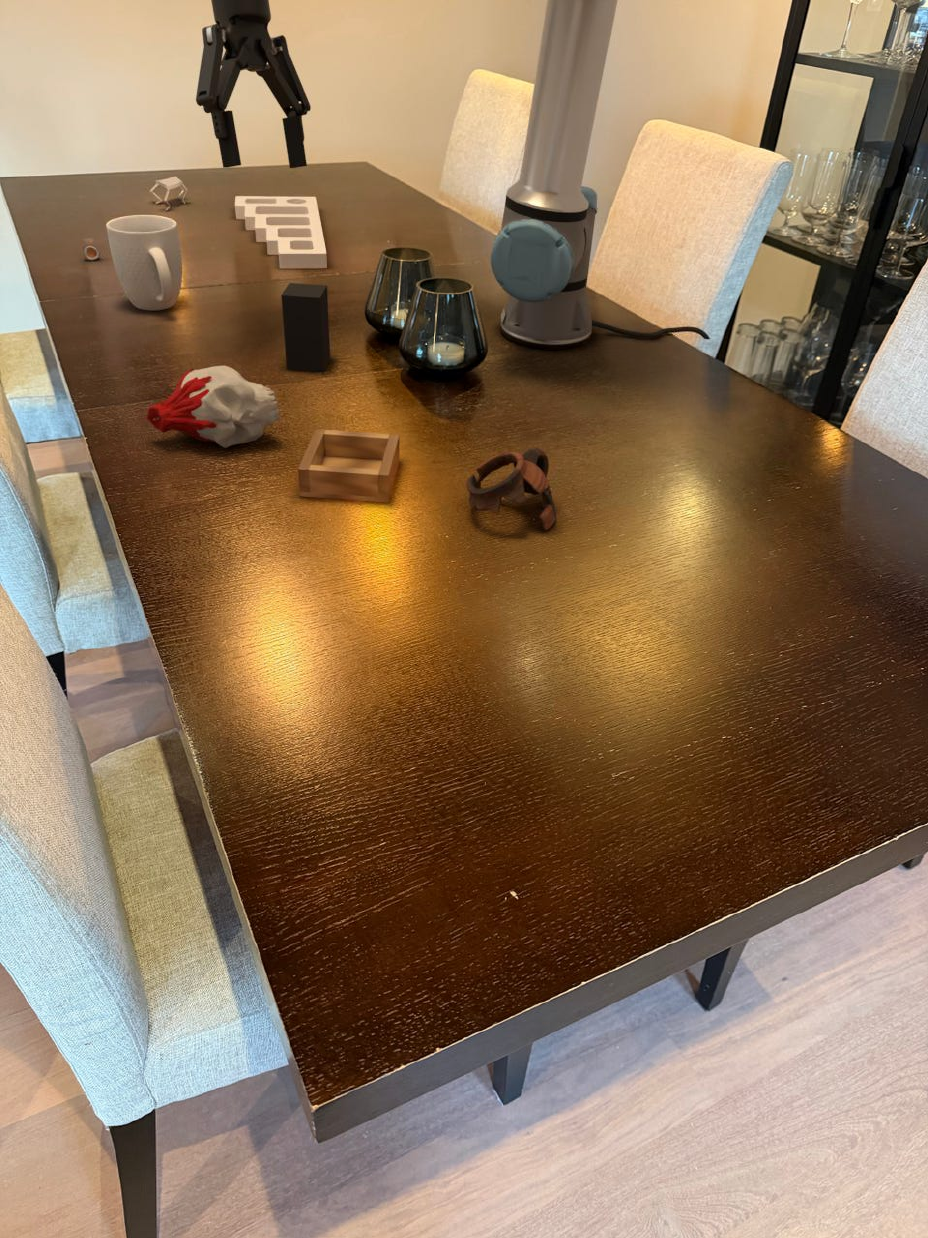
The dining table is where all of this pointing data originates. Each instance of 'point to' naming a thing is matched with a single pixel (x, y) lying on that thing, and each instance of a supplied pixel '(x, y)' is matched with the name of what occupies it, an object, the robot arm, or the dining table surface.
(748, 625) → the dining table surface
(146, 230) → the mug
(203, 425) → the white red lumpy piece
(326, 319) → the black block
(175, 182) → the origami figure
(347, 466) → the open wooden box
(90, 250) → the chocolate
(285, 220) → the holder
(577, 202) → the robot arm
